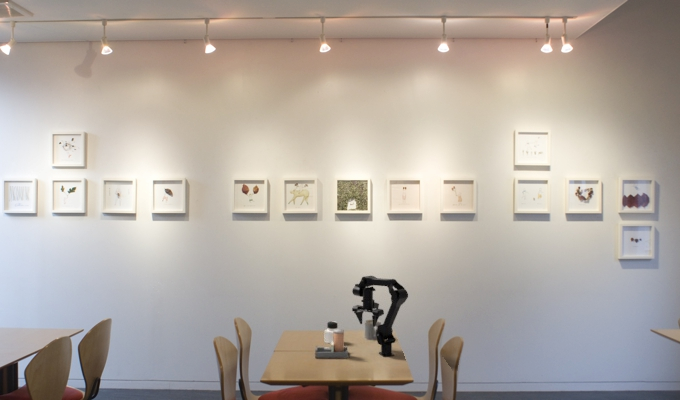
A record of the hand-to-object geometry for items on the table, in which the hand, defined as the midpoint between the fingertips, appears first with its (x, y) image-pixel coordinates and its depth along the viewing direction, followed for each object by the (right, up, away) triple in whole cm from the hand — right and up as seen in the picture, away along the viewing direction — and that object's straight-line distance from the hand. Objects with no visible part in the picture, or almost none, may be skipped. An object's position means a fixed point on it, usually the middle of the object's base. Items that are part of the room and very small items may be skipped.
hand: (367, 325), depth 268 cm
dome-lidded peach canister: (-17, -12, -12) cm, 24 cm away
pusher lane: (-20, -13, -12) cm, 27 cm away
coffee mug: (+5, -14, +21) cm, 25 cm away
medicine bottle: (-20, -14, +13) cm, 28 cm away
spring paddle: (-22, -12, -13) cm, 28 cm away
